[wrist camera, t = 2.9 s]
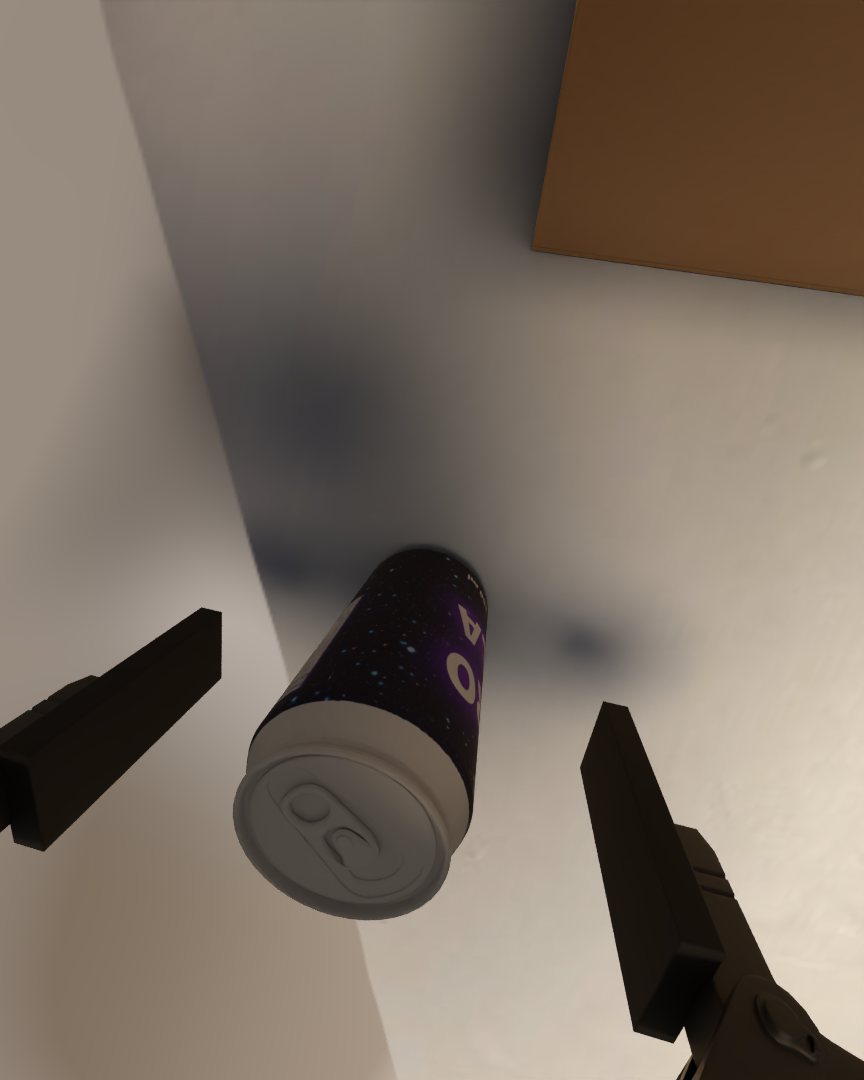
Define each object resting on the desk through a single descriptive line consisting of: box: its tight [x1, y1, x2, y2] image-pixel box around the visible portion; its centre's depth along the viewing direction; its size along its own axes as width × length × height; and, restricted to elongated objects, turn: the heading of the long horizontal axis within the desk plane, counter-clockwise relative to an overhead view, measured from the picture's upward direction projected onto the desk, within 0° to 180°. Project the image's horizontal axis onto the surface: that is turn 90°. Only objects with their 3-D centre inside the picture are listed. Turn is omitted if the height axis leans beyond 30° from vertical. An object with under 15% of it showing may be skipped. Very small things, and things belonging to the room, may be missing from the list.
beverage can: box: [233, 549, 488, 920], centre depth 15 cm, size 6×6×12 cm
